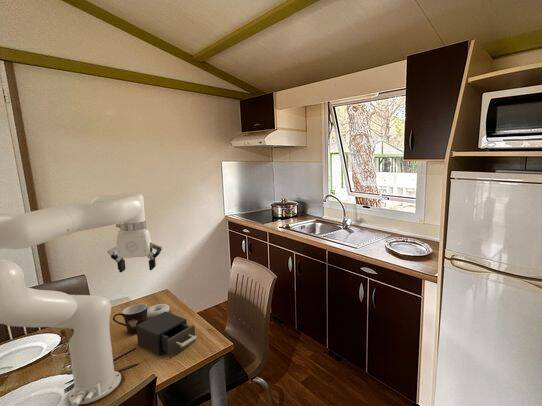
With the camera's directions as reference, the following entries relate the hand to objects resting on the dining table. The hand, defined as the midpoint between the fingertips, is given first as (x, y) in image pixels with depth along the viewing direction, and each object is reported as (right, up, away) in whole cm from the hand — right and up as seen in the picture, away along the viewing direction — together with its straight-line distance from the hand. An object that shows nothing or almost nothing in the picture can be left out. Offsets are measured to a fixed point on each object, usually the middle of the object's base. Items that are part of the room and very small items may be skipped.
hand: (137, 270), depth 104 cm
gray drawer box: (+5, -31, +8) cm, 33 cm away
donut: (-11, -28, +27) cm, 41 cm away
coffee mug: (-13, -30, +15) cm, 36 cm away
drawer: (+12, -31, +4) cm, 34 cm away
